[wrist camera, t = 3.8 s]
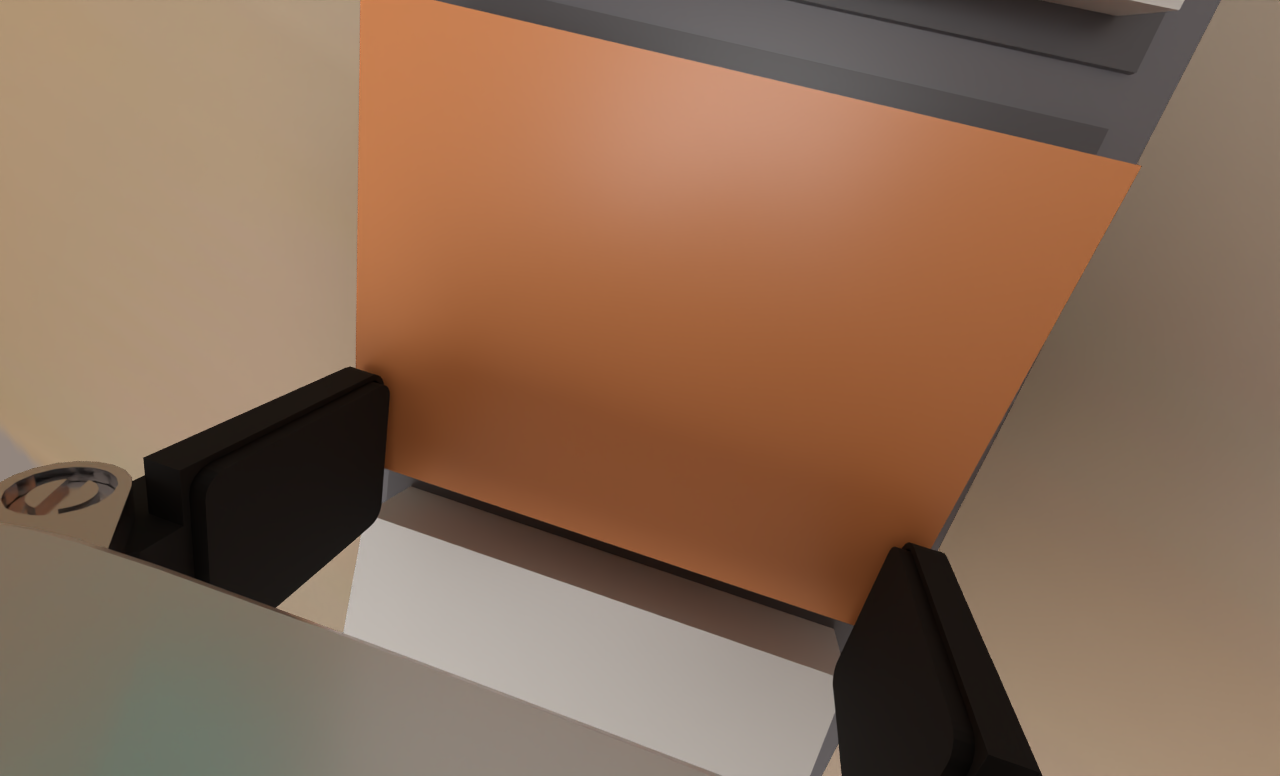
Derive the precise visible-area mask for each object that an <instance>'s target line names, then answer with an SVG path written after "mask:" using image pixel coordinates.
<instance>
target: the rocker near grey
mask: <svg viewBox="0 0 1280 776" xmlns="http://www.w3.org/2000/svg"><path fill="white" fill-rule="evenodd" d="M1042 1H1047V2H1052V3H1057V4H1061V5H1066V6H1071V7H1076V8H1081V9H1085V10H1090V11H1095V12H1100V13H1105V14H1109V15H1114V16H1124V15H1134V14H1145V13H1155V12H1166V11H1176V10H1180V8H1181V6H1182V4H1183V2H1184V1H1185V0H1042Z"/></svg>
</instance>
